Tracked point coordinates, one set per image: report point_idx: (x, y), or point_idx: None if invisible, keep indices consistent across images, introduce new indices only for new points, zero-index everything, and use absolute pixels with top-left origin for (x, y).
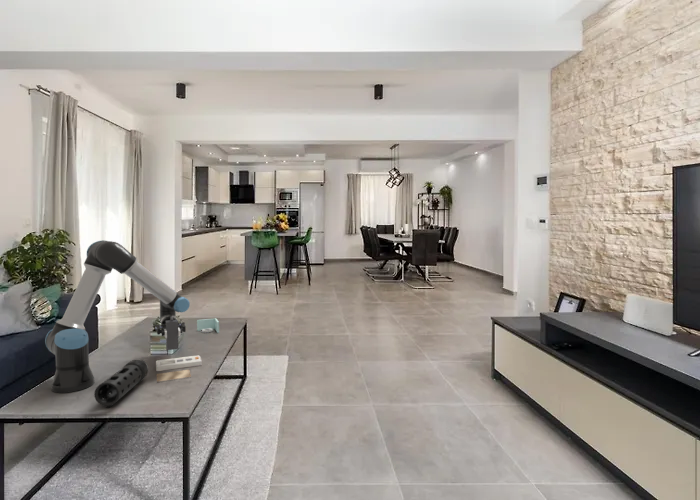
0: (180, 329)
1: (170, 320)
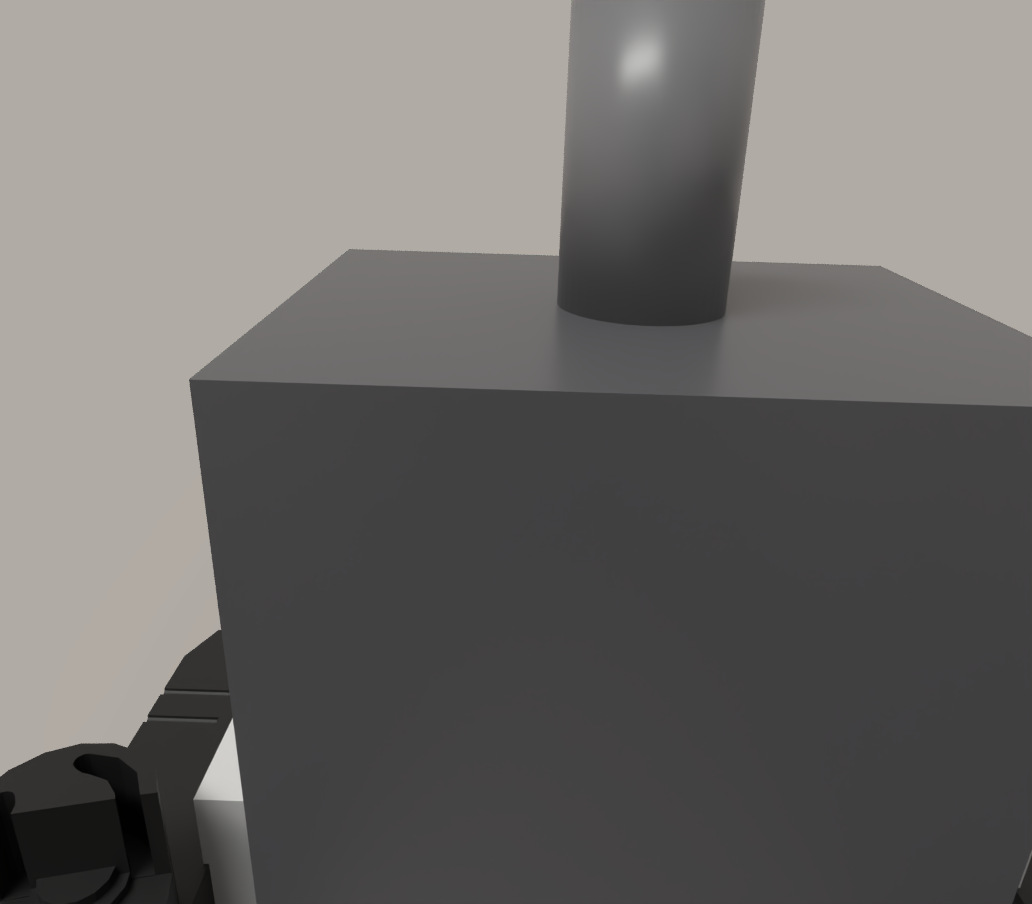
0: (221, 719)
1: (721, 258)
